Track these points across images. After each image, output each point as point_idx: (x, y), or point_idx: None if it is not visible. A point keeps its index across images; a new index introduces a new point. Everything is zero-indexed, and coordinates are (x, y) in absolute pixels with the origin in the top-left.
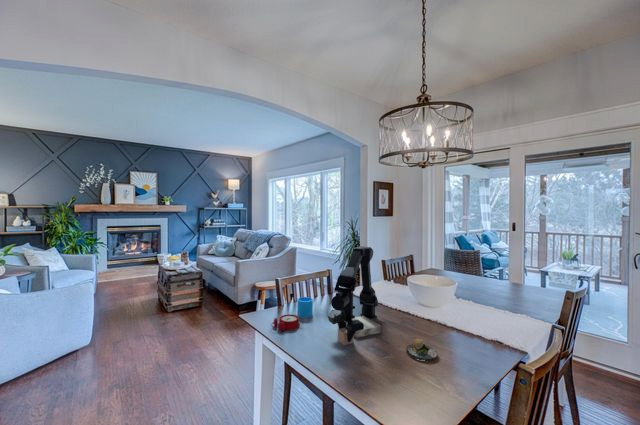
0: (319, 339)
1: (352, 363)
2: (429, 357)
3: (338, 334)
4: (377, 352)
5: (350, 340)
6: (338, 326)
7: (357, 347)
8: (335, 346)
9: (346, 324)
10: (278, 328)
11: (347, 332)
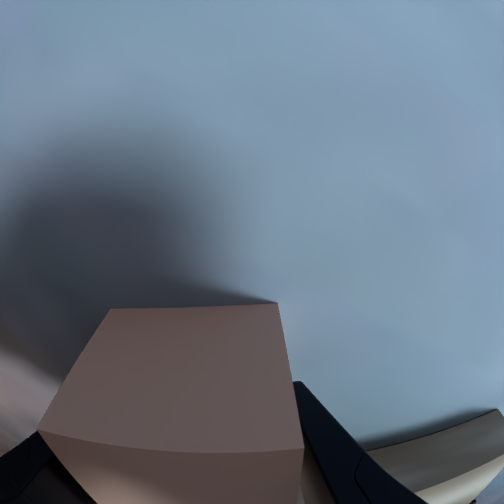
0: (408, 54)
1: None
2: None
3: (261, 368)
4: (4, 434)
5: None
6: (381, 479)
7: (53, 392)
8: (97, 182)
9: (432, 487)
10: None
11: (20, 471)
